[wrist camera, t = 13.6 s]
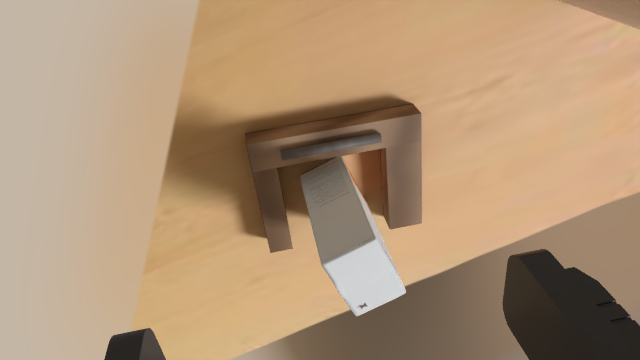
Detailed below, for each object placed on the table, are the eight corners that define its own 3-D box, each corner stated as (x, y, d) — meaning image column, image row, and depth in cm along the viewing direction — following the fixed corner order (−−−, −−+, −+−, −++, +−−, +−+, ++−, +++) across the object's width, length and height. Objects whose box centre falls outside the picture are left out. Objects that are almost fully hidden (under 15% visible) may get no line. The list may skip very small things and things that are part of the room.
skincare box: (368, 201, 44) (409, 294, 34) (326, 222, 45) (355, 319, 35) (341, 151, 41) (377, 237, 31) (296, 174, 42) (318, 266, 31)
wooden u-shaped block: (413, 103, 40) (424, 117, 37) (414, 210, 46) (424, 228, 43) (245, 133, 39) (246, 149, 36) (268, 239, 45) (271, 258, 42)
